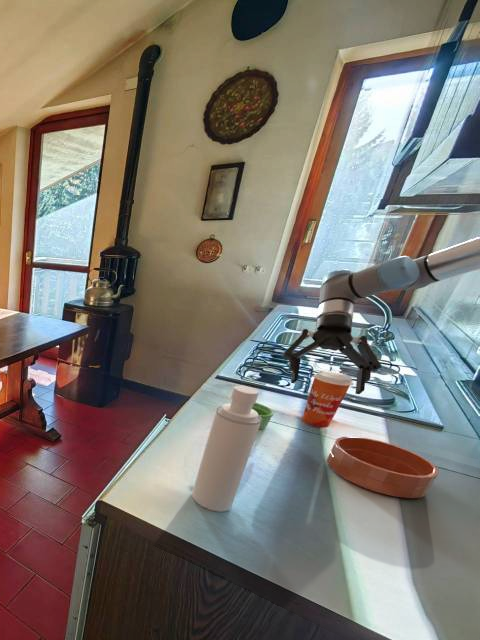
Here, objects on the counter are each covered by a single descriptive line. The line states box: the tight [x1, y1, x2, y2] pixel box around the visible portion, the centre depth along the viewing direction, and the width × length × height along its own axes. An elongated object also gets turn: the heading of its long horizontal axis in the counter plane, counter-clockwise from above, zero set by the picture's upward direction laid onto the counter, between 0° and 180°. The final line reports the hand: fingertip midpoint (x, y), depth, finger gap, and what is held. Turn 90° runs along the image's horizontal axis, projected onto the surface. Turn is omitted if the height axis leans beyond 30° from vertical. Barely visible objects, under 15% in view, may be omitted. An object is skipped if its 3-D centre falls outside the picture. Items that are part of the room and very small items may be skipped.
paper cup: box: [301, 369, 354, 429], centre depth 103 cm, size 8×8×14 cm
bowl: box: [326, 435, 439, 499], centre depth 82 cm, size 15×15×6 cm
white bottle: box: [191, 385, 262, 513], centre depth 70 cm, size 7×7×25 cm
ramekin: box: [252, 402, 275, 430], centre depth 104 cm, size 9×9×4 cm
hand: (326, 386), depth 104 cm, fingers open, 13 cm apart
